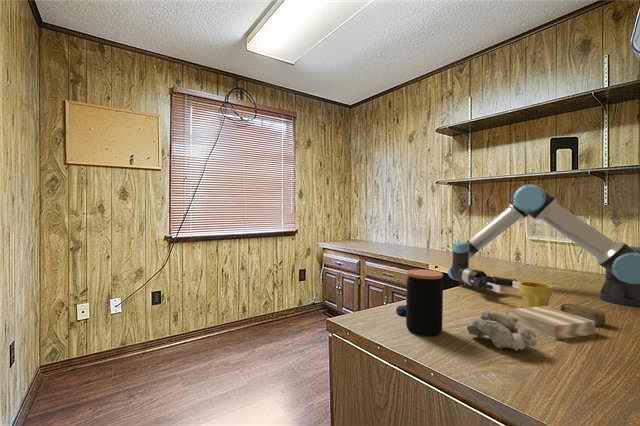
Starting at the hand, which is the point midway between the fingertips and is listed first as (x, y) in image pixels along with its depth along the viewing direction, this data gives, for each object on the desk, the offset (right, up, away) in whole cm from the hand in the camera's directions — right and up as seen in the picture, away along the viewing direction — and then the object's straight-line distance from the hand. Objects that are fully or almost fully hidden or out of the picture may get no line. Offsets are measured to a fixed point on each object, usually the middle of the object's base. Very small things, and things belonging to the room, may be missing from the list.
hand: (513, 288), depth 130 cm
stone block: (+11, -7, -20) cm, 24 cm away
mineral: (-28, -6, -41) cm, 50 cm away
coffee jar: (-46, -6, -30) cm, 56 cm away
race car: (-45, -6, -15) cm, 48 cm away
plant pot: (+3, -6, -9) cm, 11 cm away
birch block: (-5, -6, -27) cm, 28 cm away
